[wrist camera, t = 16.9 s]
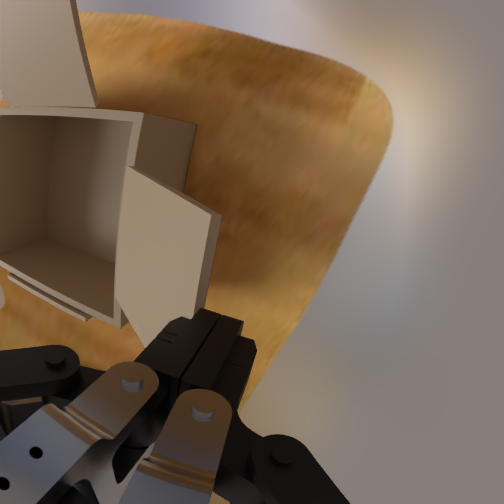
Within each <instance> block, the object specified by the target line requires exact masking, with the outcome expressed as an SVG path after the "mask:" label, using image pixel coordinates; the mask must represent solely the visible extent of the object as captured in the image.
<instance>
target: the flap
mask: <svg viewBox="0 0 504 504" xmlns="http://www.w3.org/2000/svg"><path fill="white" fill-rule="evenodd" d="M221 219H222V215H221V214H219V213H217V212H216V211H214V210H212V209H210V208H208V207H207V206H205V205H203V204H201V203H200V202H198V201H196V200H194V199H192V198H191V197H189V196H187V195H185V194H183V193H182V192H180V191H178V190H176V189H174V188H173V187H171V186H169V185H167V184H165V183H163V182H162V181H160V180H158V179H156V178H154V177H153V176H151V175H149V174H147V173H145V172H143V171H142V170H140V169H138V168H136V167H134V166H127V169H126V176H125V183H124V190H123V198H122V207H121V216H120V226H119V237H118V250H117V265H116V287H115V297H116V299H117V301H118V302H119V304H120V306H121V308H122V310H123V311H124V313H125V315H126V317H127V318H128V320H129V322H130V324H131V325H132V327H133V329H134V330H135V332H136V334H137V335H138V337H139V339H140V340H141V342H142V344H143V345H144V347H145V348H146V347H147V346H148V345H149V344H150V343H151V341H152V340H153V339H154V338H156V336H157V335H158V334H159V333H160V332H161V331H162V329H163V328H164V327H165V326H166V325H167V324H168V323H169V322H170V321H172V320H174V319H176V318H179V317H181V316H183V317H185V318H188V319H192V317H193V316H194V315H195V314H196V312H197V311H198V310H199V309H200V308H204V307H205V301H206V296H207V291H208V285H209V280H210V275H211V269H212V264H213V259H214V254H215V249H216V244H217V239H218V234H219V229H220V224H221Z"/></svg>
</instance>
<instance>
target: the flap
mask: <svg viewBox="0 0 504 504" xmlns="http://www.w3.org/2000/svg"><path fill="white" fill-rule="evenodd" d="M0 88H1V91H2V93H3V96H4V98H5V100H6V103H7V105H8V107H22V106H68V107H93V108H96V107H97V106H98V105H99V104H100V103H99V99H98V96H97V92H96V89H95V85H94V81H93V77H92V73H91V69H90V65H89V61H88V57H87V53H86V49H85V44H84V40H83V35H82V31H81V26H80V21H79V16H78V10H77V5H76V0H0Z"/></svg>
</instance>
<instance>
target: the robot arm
mask: <svg viewBox="0 0 504 504" xmlns="http://www.w3.org/2000/svg"><path fill="white" fill-rule="evenodd" d="M243 324H244V321H241V320H238V319H235V318H232V317H228V316H225V315H221V314H219V313H216V312H213V311H210V310H207V309H204V308H200V309H199V310H198V311H197V312H196V314H195V315H194V316H193V317H192V319H188V318H185V317H183V316H181V317H179V318H176V319H174V320H172V321H170V322H169V323H168V324H167V325H166V326H165V327H164V328H163V329H162V331H161V332H160V333H159V334H158V335H157V336H156V338H154V339H153V340H152V341H151V343H150V344H149V345H148V346H147V347H146V348H145V349H144V350H143V351H142V353H141V354H140V355H139V356H138V357H137V358H136V359H135V360H134V361H133V362H130V361H129V362H121V363H118V364H116V365H114V366H112V367H111V368H110V369H109V370H107V371H100V370H96V369H91V368H87V367H83V366H80V361H79V357H78V355H77V354H76V352H74V351H73V350H72V349H70V348H68V347H66V346H62V345H47V346H39V347H31V348H22V349H13V350H3V351H0V504H209V501H210V498H211V494H212V491H213V492H215V493H216V494H218V495H219V496H221V497H222V498H224V499H226V500H227V501H229V502H230V504H350V503H349V501H348V500H347V499H346V498H345V497H344V495H343V494H342V493H341V492H340V490H339V489H338V488H337V487H336V485H335V484H334V483H333V481H332V480H331V479H330V478H329V476H328V475H327V474H326V472H325V471H324V470H323V469H322V467H321V466H320V465H319V463H318V462H317V461H316V459H315V458H314V457H313V455H312V454H311V453H310V451H309V450H308V449H307V447H306V446H305V445H304V444H302V443H301V442H300V441H298V440H297V439H295V438H293V437H289V436H286V435H279V434H275V435H268V436H266V437H262V436H260V435H258V434H256V433H255V432H253V431H251V430H250V429H249V428H247V427H246V426H245V425H244V424H243V422H241V419H240V418H239V415H238V412H237V410H238V407H239V404H240V401H241V399H242V396H243V393H244V390H245V388H246V385H247V382H248V379H249V375H250V372H251V369H252V366H253V362H254V359H255V356H256V353H257V349H256V345H255V342H254V340H252V339H249V338H246V337H243V336H241V332H242V328H243ZM159 434H160V435H159ZM158 436H159V437H158ZM157 438H158V439H157ZM156 439H157V441H156ZM150 453H151V454H150ZM148 456H149V457H148ZM147 457H148V458H147ZM127 484H128V485H127ZM126 485H127V487H126ZM125 487H126V490H125V492H124V494H123V496H122V498H121V500H120V497H121V494H122V491H123V490H124V488H125ZM119 501H120V502H119Z"/></svg>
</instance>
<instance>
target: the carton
mask: <svg viewBox="0 0 504 504" xmlns="http://www.w3.org/2000/svg"><path fill="white" fill-rule="evenodd" d="M196 127H197V124H193V123H189V122H185V121H180V120H176V119H171V118H167V117H162V116H158V115H153V114H148V113H142V112H132V111H121V110H108V109H92V108H69V107H16V108H0V266H2V267H3V268H5V269H7V270H8V271H10V272H12V273H10V274H8V279H10V280H11V281H13V282H14V283H16V284H18V285H19V286H21V287H23V288H24V289H26V290H28V291H29V292H31V293H33V294H34V295H36V296H38V297H40V298H41V299H43V300H45V301H47V302H48V303H50V304H52V305H54V306H56V307H57V308H59V309H61V310H63V311H65V312H67V313H69V314H70V315H72V316H74V317H76V318H78V319H80V320H82V321H84V322H87V321H88V320H89V319H91V318H92V317H96V318H98V319H100V320H102V321H104V322H106V323H108V324H110V325H113V326H115V327H117V328H119V329H121V328H122V327H123V326H125V325H126V324H127V323H128V322H129V320H128V318H127V317H126V315H125V313H124V311H123V310H122V308H121V306H120V304H119V302H118V301H117V299H116V297H115V287H116V265H117V250H118V237H119V226H120V216H121V207H122V198H123V190H124V183H125V176H126V169H127V166H134V167H136V168H138V169H140V170H142V171H143V172H145V173H147V174H149V175H151V176H153V177H154V178H156V179H158V180H160V181H162V182H163V183H165V184H167V185H169V186H171V187H173V188H174V189H176V190H178V191H180V192H182V193H183V192H184V186H185V181H186V176H187V170H188V165H189V160H190V155H191V150H192V146H193V141H194V136H195V132H196Z"/></svg>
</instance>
